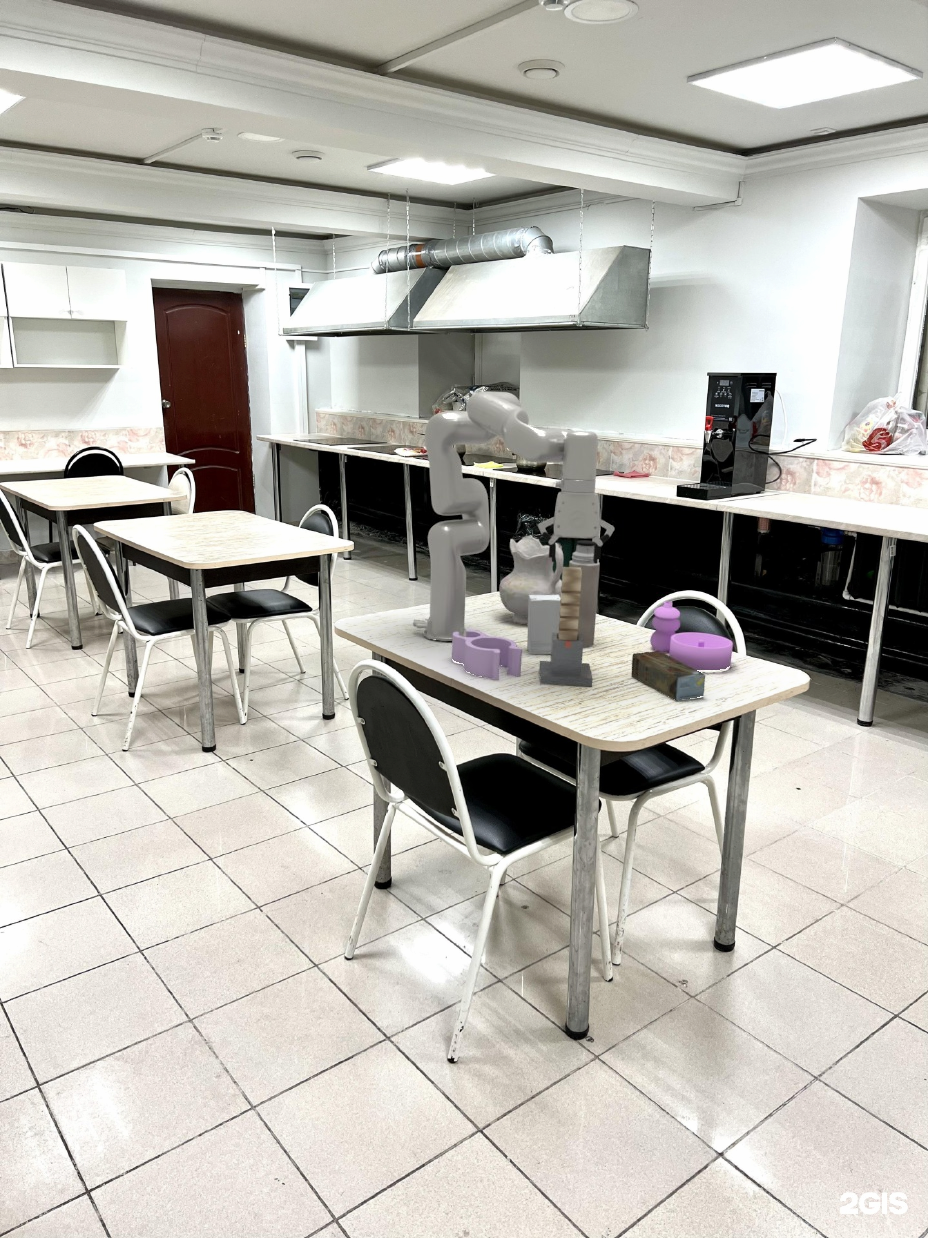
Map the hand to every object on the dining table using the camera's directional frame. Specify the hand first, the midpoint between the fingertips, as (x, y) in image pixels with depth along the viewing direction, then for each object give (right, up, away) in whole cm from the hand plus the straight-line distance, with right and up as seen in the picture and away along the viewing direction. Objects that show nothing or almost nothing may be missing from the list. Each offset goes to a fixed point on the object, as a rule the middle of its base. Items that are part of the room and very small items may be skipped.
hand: (574, 561), depth 210 cm
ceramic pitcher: (-5, -14, +59) cm, 61 cm away
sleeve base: (-1, -27, +7) cm, 28 cm away
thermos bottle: (+6, -20, +37) cm, 42 cm away
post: (-1, -25, +7) cm, 26 cm away
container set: (+32, -24, +27) cm, 48 cm away
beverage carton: (+22, -30, +3) cm, 37 cm away
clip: (-21, -25, +13) cm, 35 cm away
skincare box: (-5, -22, +28) cm, 36 cm away
